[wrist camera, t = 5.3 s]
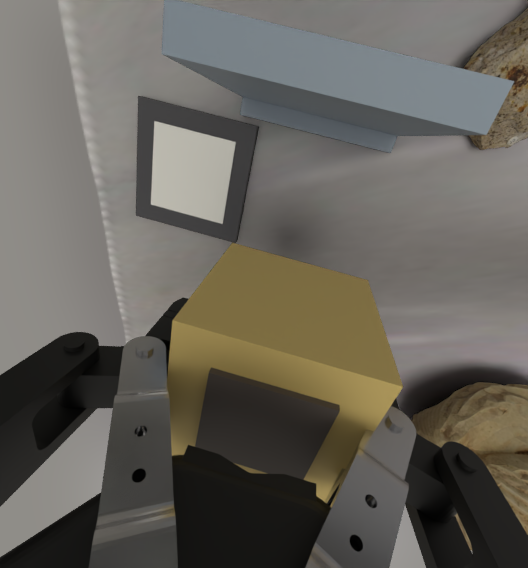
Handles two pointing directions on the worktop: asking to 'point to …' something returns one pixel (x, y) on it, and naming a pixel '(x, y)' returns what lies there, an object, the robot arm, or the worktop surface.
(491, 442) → the fossil
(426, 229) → the worktop surface
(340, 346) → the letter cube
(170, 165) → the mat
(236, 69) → the screen
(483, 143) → the rock
